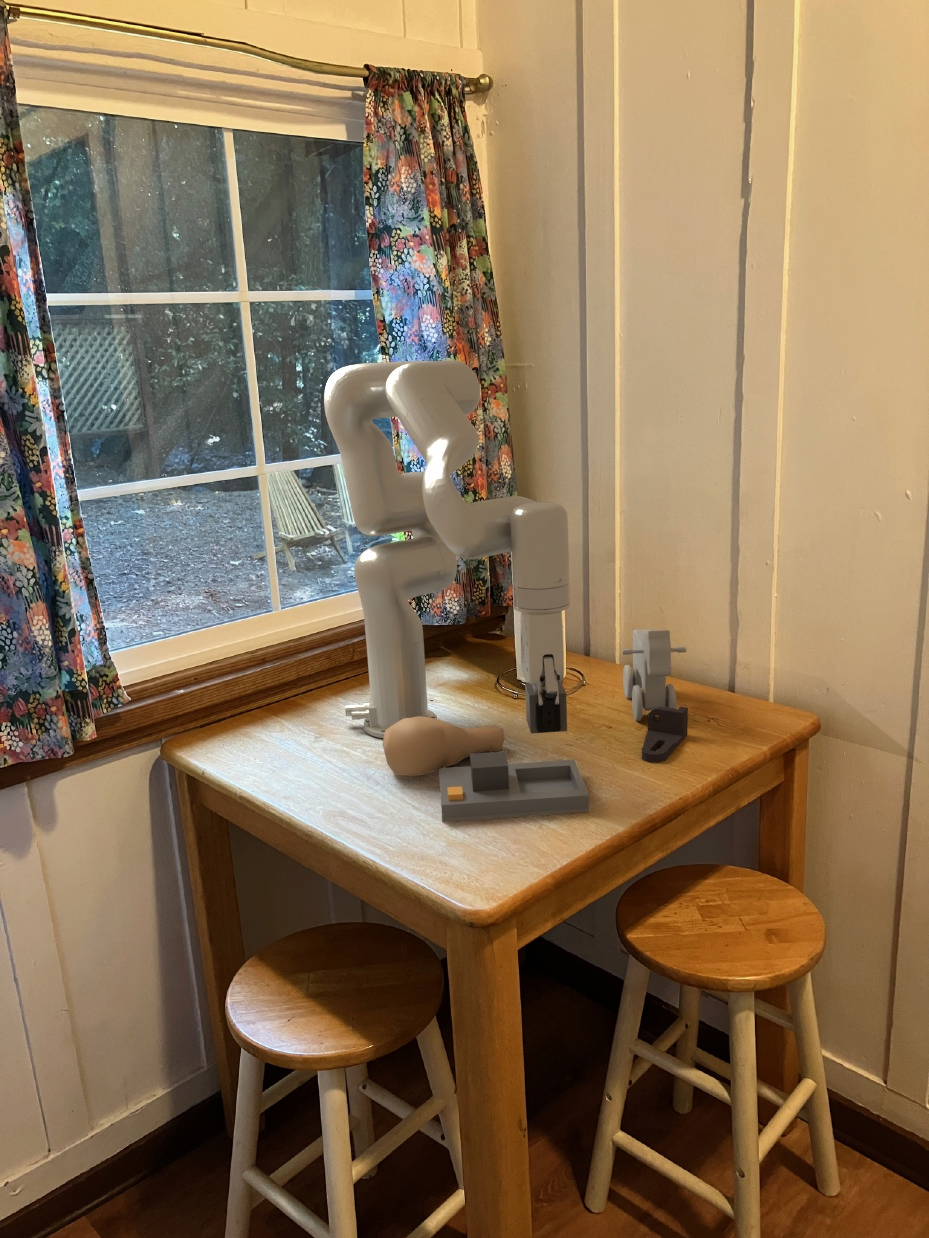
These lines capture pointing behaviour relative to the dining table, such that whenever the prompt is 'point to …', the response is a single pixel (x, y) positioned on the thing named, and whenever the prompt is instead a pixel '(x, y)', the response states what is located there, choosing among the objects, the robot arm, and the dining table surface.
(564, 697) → the plug
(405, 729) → the squash
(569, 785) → the grey fixture base
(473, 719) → the dining table surface
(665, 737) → the bracket
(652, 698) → the pony
